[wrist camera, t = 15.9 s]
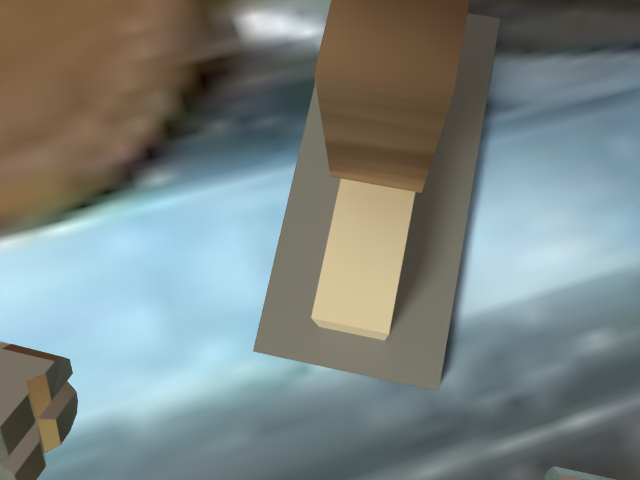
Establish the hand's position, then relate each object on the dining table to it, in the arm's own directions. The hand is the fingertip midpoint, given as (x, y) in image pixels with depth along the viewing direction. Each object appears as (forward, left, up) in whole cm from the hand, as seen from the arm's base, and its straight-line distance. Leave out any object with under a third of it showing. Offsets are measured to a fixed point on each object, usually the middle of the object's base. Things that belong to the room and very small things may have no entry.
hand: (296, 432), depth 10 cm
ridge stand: (-11, +6, -23) cm, 26 cm away
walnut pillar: (-11, +6, -17) cm, 21 cm away
